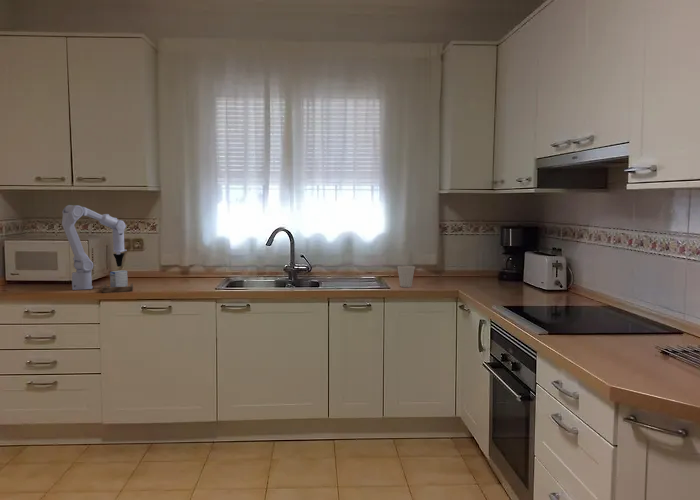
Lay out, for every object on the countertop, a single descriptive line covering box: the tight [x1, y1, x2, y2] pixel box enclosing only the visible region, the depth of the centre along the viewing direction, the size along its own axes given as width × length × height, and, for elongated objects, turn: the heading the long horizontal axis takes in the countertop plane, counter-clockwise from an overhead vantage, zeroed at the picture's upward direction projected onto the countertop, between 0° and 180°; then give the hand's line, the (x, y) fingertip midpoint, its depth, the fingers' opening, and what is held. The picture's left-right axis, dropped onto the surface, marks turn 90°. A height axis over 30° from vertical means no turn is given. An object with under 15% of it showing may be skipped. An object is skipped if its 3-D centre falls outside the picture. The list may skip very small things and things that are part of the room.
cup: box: [396, 265, 416, 288], centre depth 326 cm, size 10×10×11 cm
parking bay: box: [101, 283, 134, 294], centre depth 310 cm, size 14×11×2 cm
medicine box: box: [109, 269, 129, 287], centre depth 321 cm, size 8×4×9 cm, turn 149°
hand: (119, 266), depth 329 cm, fingers closed
